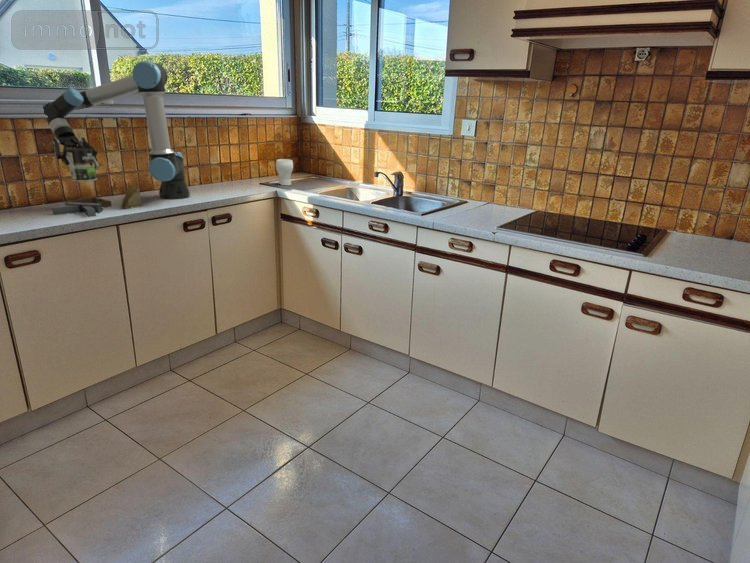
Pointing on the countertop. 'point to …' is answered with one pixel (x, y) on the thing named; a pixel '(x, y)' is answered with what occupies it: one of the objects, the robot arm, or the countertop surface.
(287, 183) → the cup
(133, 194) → the rock
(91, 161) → the coffee can
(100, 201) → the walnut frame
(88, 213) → the dark grey branched bar
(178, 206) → the countertop surface
